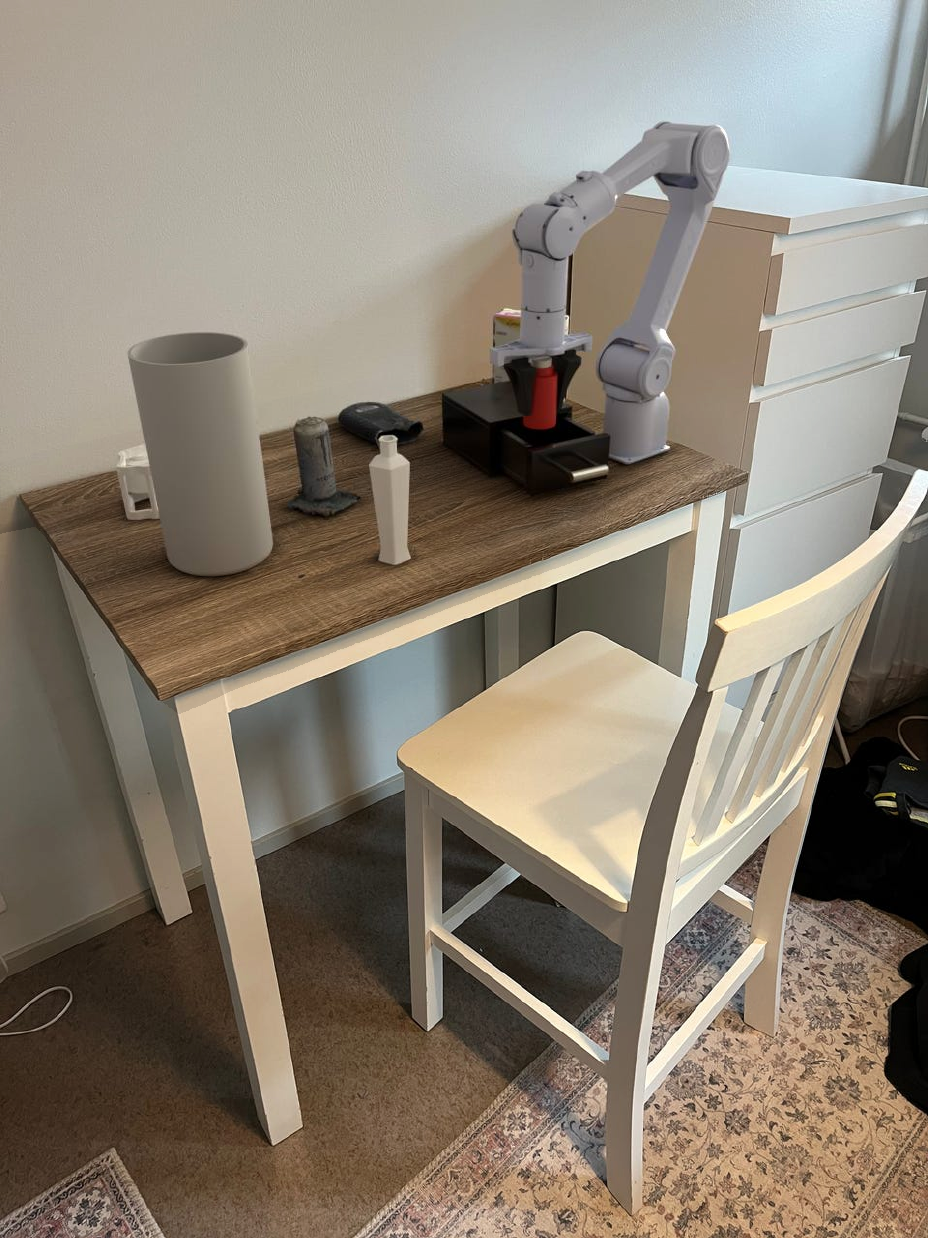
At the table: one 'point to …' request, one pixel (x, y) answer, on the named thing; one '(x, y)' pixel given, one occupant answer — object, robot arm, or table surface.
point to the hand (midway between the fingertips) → (539, 410)
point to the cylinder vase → (203, 450)
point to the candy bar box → (509, 336)
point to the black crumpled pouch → (379, 422)
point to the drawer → (551, 455)
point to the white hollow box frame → (136, 482)
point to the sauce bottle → (543, 396)
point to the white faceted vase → (391, 500)
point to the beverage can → (317, 470)
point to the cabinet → (480, 421)
